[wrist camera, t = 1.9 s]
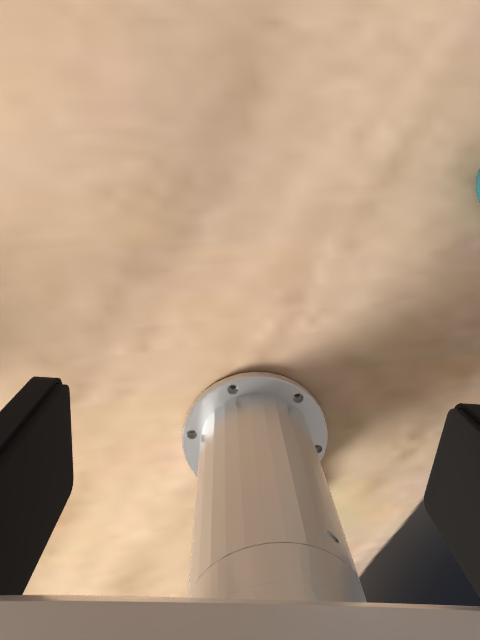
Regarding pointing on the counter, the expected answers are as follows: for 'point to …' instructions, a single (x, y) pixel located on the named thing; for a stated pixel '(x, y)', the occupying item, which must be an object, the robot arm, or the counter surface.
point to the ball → (478, 185)
